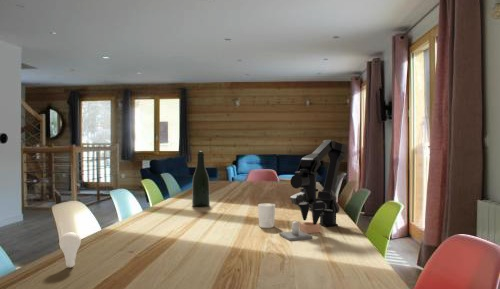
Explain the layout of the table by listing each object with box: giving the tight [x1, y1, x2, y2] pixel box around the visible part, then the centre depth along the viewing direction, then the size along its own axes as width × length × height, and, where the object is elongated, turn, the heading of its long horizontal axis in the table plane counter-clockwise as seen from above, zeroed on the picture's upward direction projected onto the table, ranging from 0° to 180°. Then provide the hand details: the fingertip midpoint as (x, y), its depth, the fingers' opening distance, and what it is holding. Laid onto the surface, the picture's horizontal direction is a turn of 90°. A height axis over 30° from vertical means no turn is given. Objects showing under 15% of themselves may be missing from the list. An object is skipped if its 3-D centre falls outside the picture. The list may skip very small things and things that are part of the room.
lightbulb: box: [58, 231, 82, 269], centre depth 125 cm, size 6×6×11 cm
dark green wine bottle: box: [191, 150, 211, 208], centre depth 240 cm, size 10×10×33 cm
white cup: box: [257, 202, 276, 229], centre depth 182 cm, size 8×8×10 cm
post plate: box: [278, 221, 313, 242], centre depth 162 cm, size 10×10×6 cm
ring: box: [299, 221, 321, 234], centre depth 172 cm, size 6×6×3 cm
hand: (309, 222), depth 172 cm, fingers open, 9 cm apart
